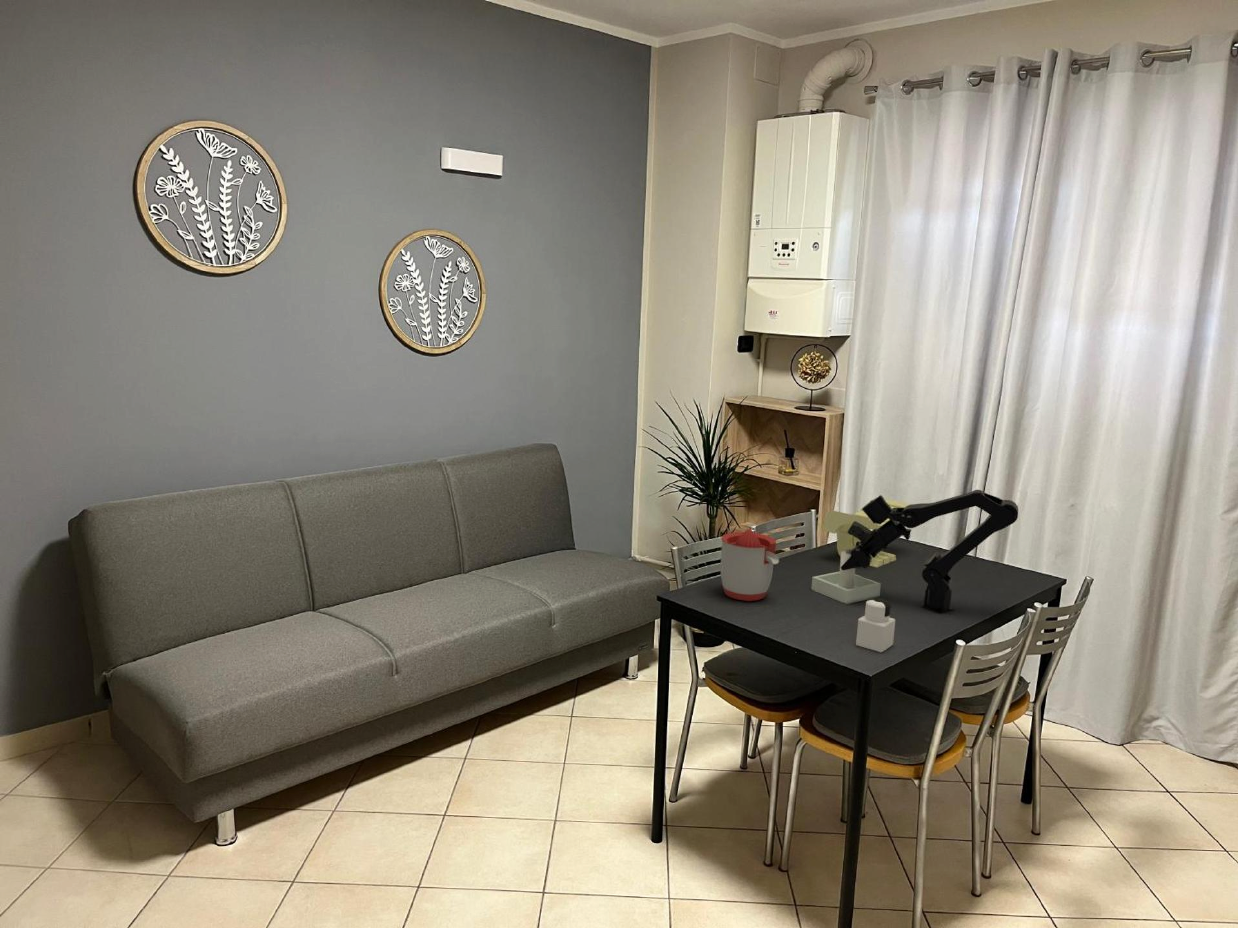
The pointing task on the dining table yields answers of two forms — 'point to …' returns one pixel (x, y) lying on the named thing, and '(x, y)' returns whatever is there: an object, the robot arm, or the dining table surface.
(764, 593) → the citrus juicer
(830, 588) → the walled box
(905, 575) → the dining table surface
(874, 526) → the slatted curved stool
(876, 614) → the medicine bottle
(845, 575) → the grey-capped cream cylinder
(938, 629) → the dining table surface
